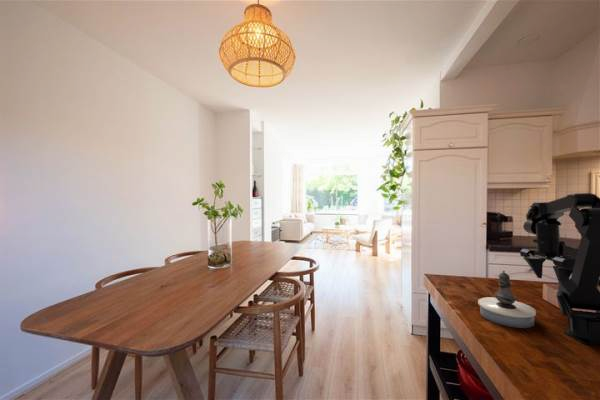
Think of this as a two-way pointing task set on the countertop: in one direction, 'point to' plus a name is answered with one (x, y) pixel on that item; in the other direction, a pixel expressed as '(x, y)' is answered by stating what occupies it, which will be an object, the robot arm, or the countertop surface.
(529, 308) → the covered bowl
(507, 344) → the countertop surface
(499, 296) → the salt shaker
